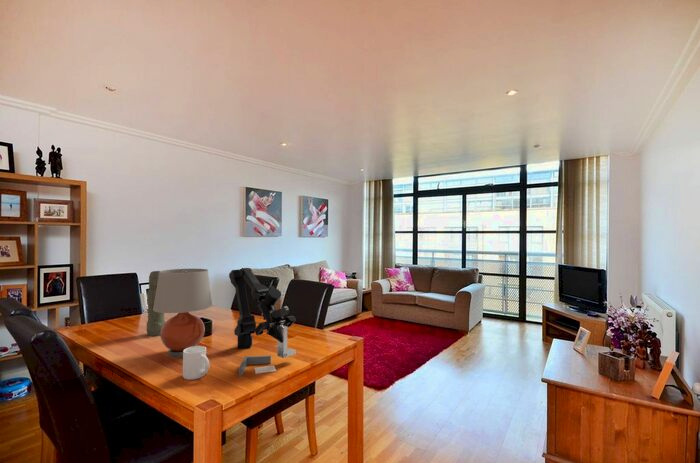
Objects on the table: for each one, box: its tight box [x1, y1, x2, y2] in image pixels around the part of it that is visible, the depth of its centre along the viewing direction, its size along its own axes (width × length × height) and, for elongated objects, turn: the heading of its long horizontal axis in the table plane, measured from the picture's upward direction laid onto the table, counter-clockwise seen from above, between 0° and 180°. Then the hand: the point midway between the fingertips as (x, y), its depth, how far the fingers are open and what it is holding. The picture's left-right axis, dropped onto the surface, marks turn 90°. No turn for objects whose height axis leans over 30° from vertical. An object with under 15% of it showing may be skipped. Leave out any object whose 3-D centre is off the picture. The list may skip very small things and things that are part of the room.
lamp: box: [153, 268, 213, 359], centre depth 155 cm, size 25×25×39 cm
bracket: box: [276, 325, 297, 359], centre depth 144 cm, size 7×4×13 cm, turn 140°
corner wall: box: [238, 354, 272, 377], centre depth 137 cm, size 11×13×3 cm
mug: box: [182, 345, 210, 381], centre depth 129 cm, size 12×8×10 cm
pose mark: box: [254, 365, 277, 375], centre depth 136 cm, size 8×6×1 cm
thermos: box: [146, 270, 166, 338], centre depth 183 cm, size 9×12×35 cm
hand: (284, 341), depth 141 cm, fingers closed on bracket, 2 cm apart
